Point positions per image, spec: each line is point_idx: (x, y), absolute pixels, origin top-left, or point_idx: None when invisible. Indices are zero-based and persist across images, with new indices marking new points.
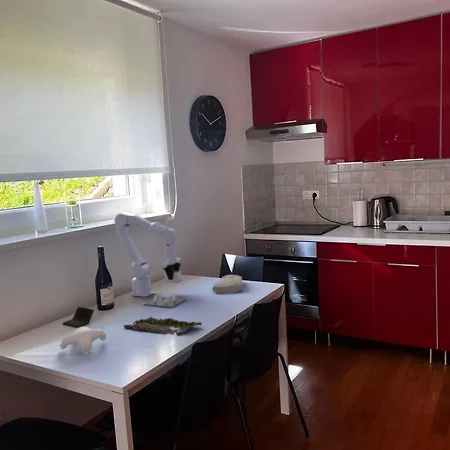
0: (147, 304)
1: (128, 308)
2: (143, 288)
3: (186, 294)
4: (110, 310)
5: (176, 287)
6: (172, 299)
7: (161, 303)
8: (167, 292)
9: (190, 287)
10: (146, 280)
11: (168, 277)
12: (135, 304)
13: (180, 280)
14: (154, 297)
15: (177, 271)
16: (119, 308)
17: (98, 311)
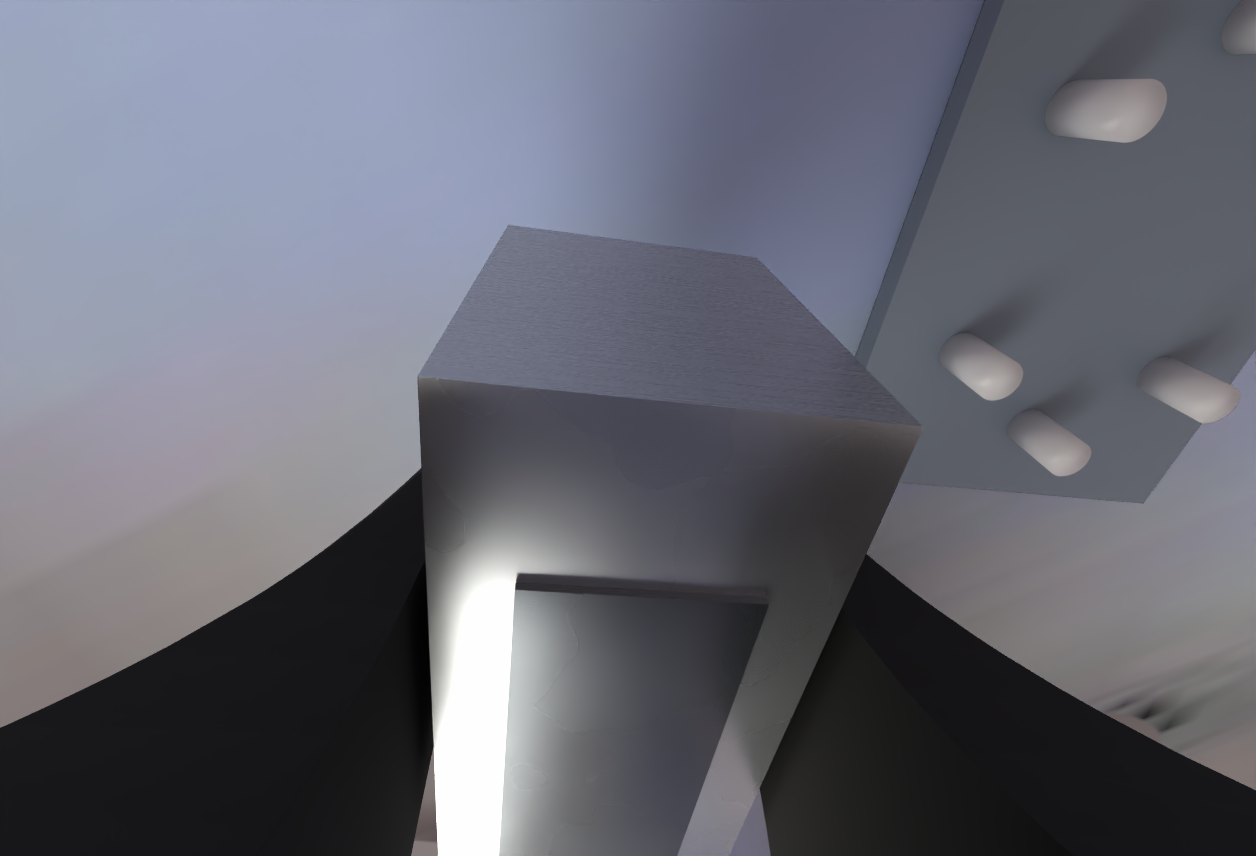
0: (1176, 450)
1: (1187, 586)
2: None
3: (551, 76)
4: (1193, 691)
5: (206, 482)
6: (1018, 169)
7: (1223, 262)
8: None
9: (62, 235)
10: (736, 850)
11: None
12: (1045, 591)
13: (598, 245)
14: (1080, 459)
15: (729, 473)
16: (1152, 657)
17: (1185, 749)
